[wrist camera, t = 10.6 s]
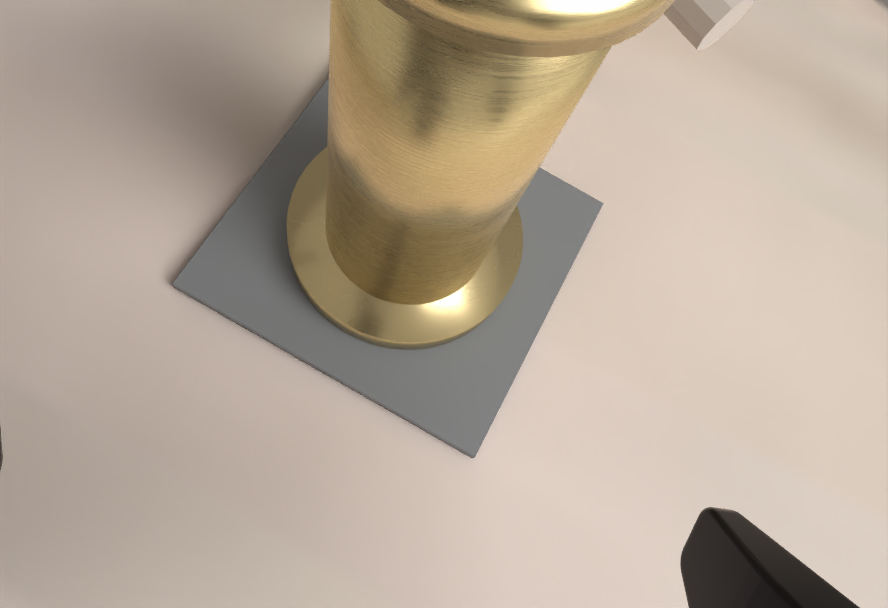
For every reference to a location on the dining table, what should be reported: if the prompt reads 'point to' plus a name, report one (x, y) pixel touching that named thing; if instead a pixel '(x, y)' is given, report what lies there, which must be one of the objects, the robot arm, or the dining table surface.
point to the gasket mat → (365, 365)
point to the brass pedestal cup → (438, 154)
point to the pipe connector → (706, 18)
